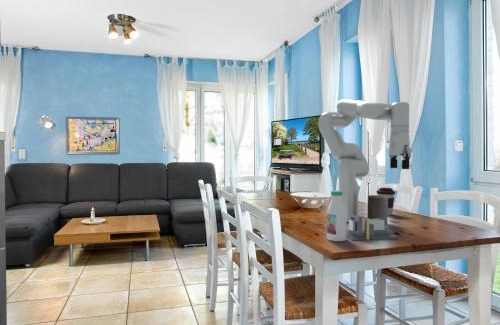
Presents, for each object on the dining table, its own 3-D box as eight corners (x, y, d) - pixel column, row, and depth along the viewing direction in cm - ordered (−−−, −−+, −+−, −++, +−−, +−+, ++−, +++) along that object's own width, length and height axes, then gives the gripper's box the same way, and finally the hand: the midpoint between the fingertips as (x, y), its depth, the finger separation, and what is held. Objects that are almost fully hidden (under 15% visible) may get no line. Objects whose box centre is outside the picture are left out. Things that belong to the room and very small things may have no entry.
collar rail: (341, 233, 161) (341, 212, 161) (383, 232, 164) (383, 211, 163) (352, 240, 149) (352, 218, 149) (397, 238, 152) (398, 216, 151)
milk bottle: (343, 237, 155) (343, 189, 154) (348, 241, 147) (348, 191, 147) (324, 237, 155) (325, 190, 154) (329, 242, 147) (329, 192, 146)
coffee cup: (372, 213, 212) (372, 187, 211) (385, 212, 216) (385, 186, 216) (385, 216, 203) (385, 189, 202) (398, 215, 207) (399, 188, 207)
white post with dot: (348, 228, 157) (348, 219, 157) (379, 227, 159) (379, 218, 159) (352, 230, 153) (352, 220, 153) (384, 229, 155) (384, 219, 155)
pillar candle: (365, 224, 181) (366, 194, 181) (369, 220, 190) (369, 192, 189) (386, 226, 177) (387, 195, 176) (389, 222, 186) (389, 193, 185)
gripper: (382, 131, 172) (382, 167, 173) (402, 129, 155) (402, 169, 156) (397, 131, 173) (397, 167, 174) (419, 129, 156) (418, 169, 157)
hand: (399, 168), depth 165 cm, fingers open, 9 cm apart
